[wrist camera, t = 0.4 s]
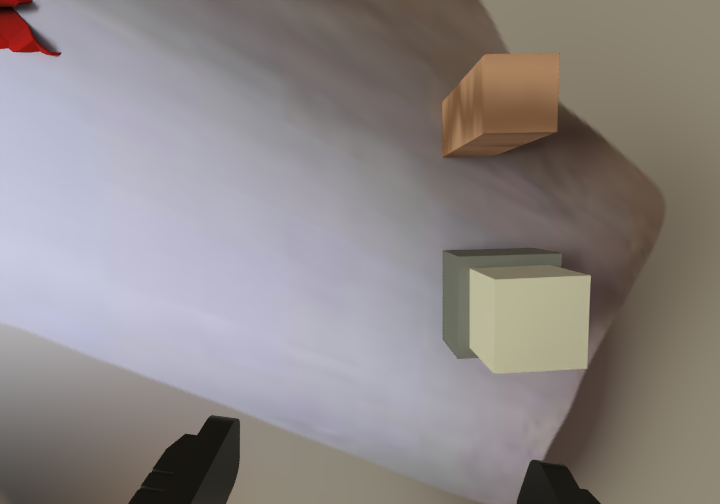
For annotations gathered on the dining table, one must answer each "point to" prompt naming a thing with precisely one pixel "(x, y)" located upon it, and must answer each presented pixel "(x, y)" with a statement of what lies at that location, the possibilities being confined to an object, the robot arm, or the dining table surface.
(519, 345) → the tower top
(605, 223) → the dining table surface
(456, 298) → the tower base
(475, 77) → the wooden block
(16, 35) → the cloth
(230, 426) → the robot arm
